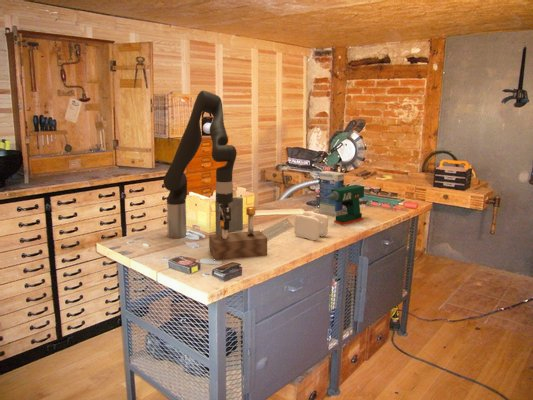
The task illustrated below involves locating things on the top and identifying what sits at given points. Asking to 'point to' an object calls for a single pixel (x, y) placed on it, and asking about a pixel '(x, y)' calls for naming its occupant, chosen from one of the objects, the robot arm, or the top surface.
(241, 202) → the hip flask
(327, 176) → the string lights box
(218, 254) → the block
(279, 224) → the corner bead
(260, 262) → the top surface
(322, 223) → the beige rounded block
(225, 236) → the near plunger
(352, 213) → the power tool
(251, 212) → the far plunger
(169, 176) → the robot arm
